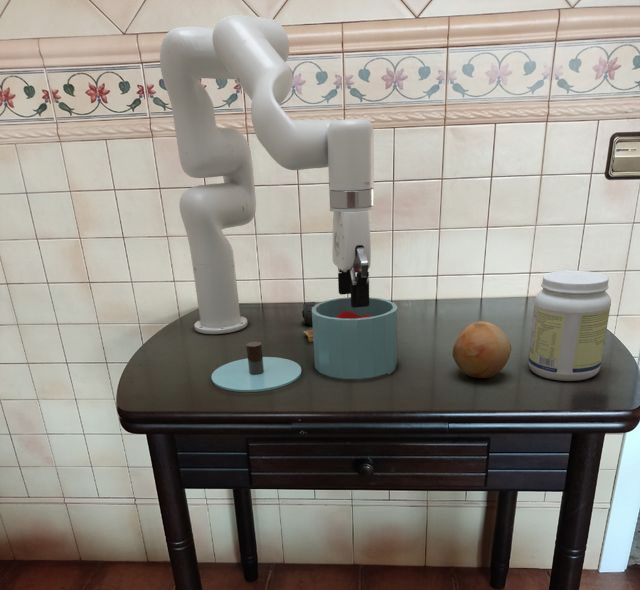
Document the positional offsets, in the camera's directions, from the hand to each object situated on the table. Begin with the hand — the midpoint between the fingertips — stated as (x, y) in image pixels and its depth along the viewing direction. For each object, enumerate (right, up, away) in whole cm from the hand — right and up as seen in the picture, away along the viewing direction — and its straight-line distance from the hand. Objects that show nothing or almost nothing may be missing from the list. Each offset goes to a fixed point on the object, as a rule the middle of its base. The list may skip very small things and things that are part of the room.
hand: (353, 299), depth 109 cm
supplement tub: (+38, -13, -1) cm, 40 cm away
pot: (+1, -12, +6) cm, 13 cm away
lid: (-18, -13, +2) cm, 23 cm away
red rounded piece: (0, -11, +5) cm, 12 cm away
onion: (+23, -14, -2) cm, 27 cm away
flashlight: (-2, +1, +32) cm, 33 cm away
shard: (-4, -4, +21) cm, 22 cm away
